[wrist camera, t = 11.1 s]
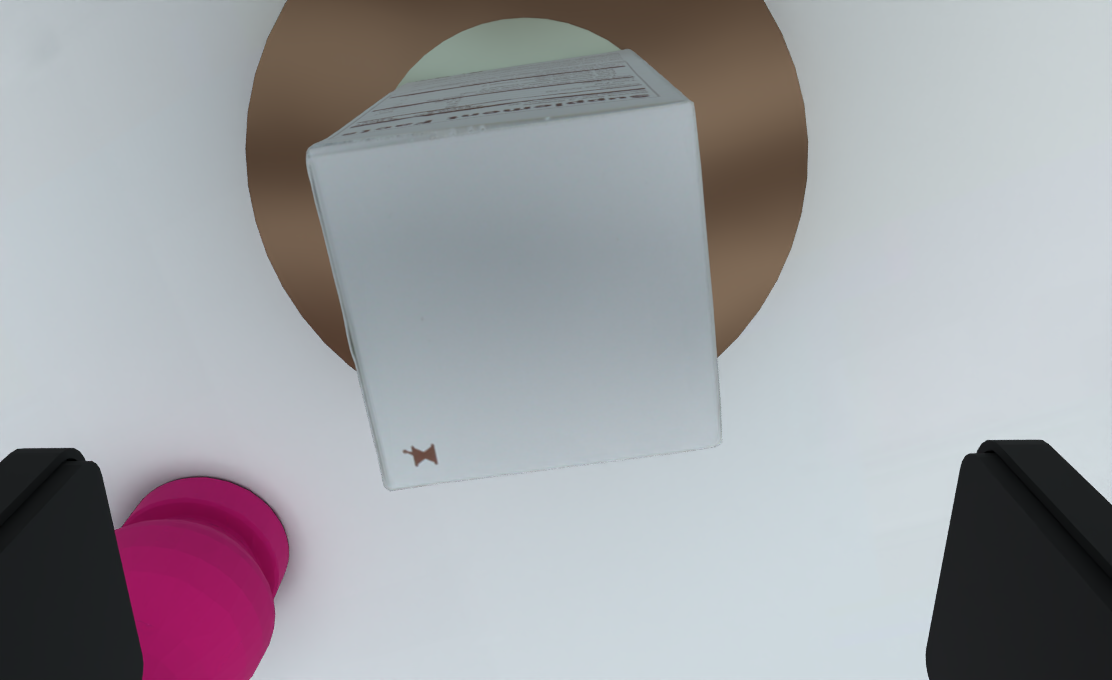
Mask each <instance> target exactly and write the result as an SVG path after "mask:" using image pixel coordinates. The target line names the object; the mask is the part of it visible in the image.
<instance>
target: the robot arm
mask: <svg viewBox="0 0 1112 680" xmlns="http://www.w3.org/2000/svg"><path fill="white" fill-rule="evenodd" d="M143 666H144V662H143V655H142V650H141V646H140V642H139V637H138V633H137V628H136V624H135V619H134V615H133V611H132V606H131V602H130V597H129V593H128V588H127V584H126V579H125V575H124V571H123V566H122V562H121V557H120V553H119V548H118V544H117V540H116V535H115V531H114V526H113V522H112V517H111V513H110V509H109V504H108V500H107V495H106V491H105V486H104V482H103V477H102V474H101V471H100V468H99V467H98V465H97V464H96V463H94V462H93V461H85V458H84V457H83V455H82V454H81V452H80V451H78V450H76V449H75V448H24V449H16V450H15V451H13V452H11V453H10V454H9V455H8V456H7V457H6V458H4V459H3V460H2V461H1V462H0V680H142V677H143ZM926 667H927V673H928V677H929V680H1112V505H1111V504H1110V503H1109V502H1108V501H1107V500H1106V499H1105V498H1104V497H1103V496H1102V495H1101V494H1100V493H1099V492H1098V491H1097V490H1096V489H1095V488H1094V487H1093V486H1092V485H1091V484H1090V483H1089V482H1088V481H1086V480H1085V479H1084V478H1083V477H1082V476H1081V475H1080V474H1079V473H1078V472H1077V471H1076V470H1075V469H1074V468H1073V467H1072V466H1071V465H1070V464H1069V463H1068V462H1067V461H1066V460H1065V459H1064V458H1063V457H1062V456H1061V455H1060V454H1058V453H1057V452H1056V451H1055V450H1054V449H1053V448H1052V447H1051V446H1050V445H1049V444H1048V443H1046V442H1045V441H1043V440H987V441H985V442H983V443H982V444H981V446H980V447H979V449H978V450H977V453H971V454H968V455H966V456H965V457H964V459H963V461H962V464H961V467H960V472H959V477H958V483H957V488H956V493H955V499H954V504H953V509H952V515H951V520H950V525H949V530H948V536H947V541H946V546H945V552H944V557H943V562H942V568H941V573H940V578H939V584H938V589H937V594H936V600H935V605H934V610H933V615H932V621H931V626H930V631H929V637H928V642H927V647H926Z"/></svg>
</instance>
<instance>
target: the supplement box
mask: <svg viewBox="0 0 1112 680" xmlns="http://www.w3.org/2000/svg"><path fill="white" fill-rule="evenodd" d="M306 166H307V172H308V176H309V179H310V183H311V187H312V192H313V196H314V201H315V205H316V209H317V212H318V216H319V220H320V224H321V227H322V231H323V236H324V240H325V244H326V248H327V252H328V256H329V260H330V264H331V268H332V273H333V277H334V281H335V285H336V288H337V292H338V296H339V301H340V305H341V309H342V313H343V319H344V324H345V329H346V335H347V339H348V343H349V348H350V352H351V354H352V357H353V360H354V363H355V366H356V370H357V374H358V378H359V383H360V387H361V391H362V395H363V399H364V403H365V407H366V411H367V415H368V419H369V423H370V428H371V432H372V436H373V440H374V444H375V448H376V452H377V456H378V461H379V466H380V470H381V475H382V480H383V484H384V487H385V488H386V489H387V490H389V491H395V490H401V489H408V488H414V487H421V486H427V485H434V484H441V483H449V482H457V481H465V480H473V479H480V478H488V477H495V476H503V475H511V474H519V473H527V472H536V471H543V470H550V469H557V468H565V467H573V466H581V465H589V464H597V463H604V462H611V461H619V460H626V459H634V458H641V457H651V456H657V455H666V454H674V453H681V452H688V451H695V450H700V449H706V448H711V447H716V446H719V445H720V443H721V442H722V424H721V403H720V389H719V374H718V361H717V348H716V335H715V322H714V309H713V297H712V286H711V275H710V264H709V253H708V242H707V231H706V219H705V207H704V195H703V183H702V171H701V161H700V152H699V142H698V133H697V124H696V115H695V108H694V102H692V101H690V100H689V99H688V98H687V97H686V96H684V95H683V94H682V92H680V91H679V90H678V89H677V88H675V87H674V86H673V85H672V84H671V83H670V82H669V81H668V80H666V79H665V78H664V77H663V76H662V75H661V74H659V73H658V72H657V71H656V70H655V69H654V68H653V67H651V66H650V65H649V64H648V63H647V62H646V61H644V60H643V59H642V58H641V57H640V56H639V55H637V54H636V53H635V52H634V51H632V50H631V49H624V50H619V51H613V52H607V53H601V54H594V55H587V56H580V57H574V58H567V59H560V60H553V61H546V62H539V63H532V64H526V65H519V66H512V67H506V68H499V69H493V70H486V71H479V72H472V73H466V74H459V75H453V76H447V77H440V78H434V79H427V80H422V81H416V82H410V83H406V84H404V85H402V86H400V87H399V88H397V89H396V90H394V91H393V92H391V93H389V94H387V95H386V96H385V97H383V98H382V99H380V100H379V101H378V102H376V103H375V104H374V105H372V106H371V107H370V108H368V109H367V110H365V111H364V112H363V113H361V114H360V115H359V116H357V117H356V118H355V119H353V120H352V121H350V122H349V123H348V124H346V125H345V126H344V127H342V128H341V129H340V130H338V131H337V132H335V133H334V134H332V135H331V136H329V137H328V138H326V139H324V140H322V141H320V142H317V143H315V144H313V145H312V146H310V147H309V148H308V150H307V152H306Z"/></svg>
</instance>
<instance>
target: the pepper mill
mask: <svg viewBox="0 0 1112 680" xmlns="http://www.w3.org/2000/svg"><path fill="white" fill-rule="evenodd" d="M114 531H115V535H116V540H117V544H118V548H119V553H120V557H121V562H122V566H123V571H124V575H125V579H126V584H127V588H128V593H129V597H130V602H131V606H132V611H133V615H134V619H135V624H136V628H137V633H138V637H139V642H140V646H141V650H142V655H143V662H144V666H143V677H142V680H249V679H250V678H251V677H252V676H253V674H254V672H255V670H256V668H257V667H258V665H259V663H260V661H261V659H262V657H263V655H264V653H265V652H266V650H267V648H268V646H269V644H270V640H271V637H272V634H273V629H274V622H275V608H274V600H273V599H274V597H275V595H276V592H277V590H278V588H279V585H280V583H281V581H282V578H283V576H284V574H285V571H286V568H287V564H288V560H289V546H288V541H287V536H286V534H285V531H284V529H283V526H282V524H281V522H280V521H279V519H278V518H277V517H276V515H275V514H274V512H273V511H272V510H271V508H270V507H269V506H268V505H267V504H266V503H265V502H264V501H262V500H261V499H260V498H259V497H257V496H256V495H255V494H253V493H252V492H251V491H249V490H246V489H244V488H242V487H240V486H237V485H235V484H233V483H231V482H228V481H223V480H218V479H213V478H208V477H195V478H185V479H180V480H175V481H172V482H169V483H166V484H164V485H162V486H160V487H158V488H156V489H155V490H153V491H152V492H150V493H149V494H148V495H147V496H146V497H145V498H144V499H143V500H142V501H141V502H140V503H139V505H138V506H137V507H136V509H135V510H134V511H133V512H132V514H131V515H130V516H129V518H128V519H127V520H126V522H125V523H124V524H123V526H122V527H121V528H119V529H116V530H114Z"/></svg>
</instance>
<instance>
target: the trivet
mask: <svg viewBox="0 0 1112 680" xmlns="http://www.w3.org/2000/svg"><path fill="white" fill-rule="evenodd" d="M624 49H631V50H632V51H634V52H635V53H636V54H637V55H639V56H640V57H641V58H642V59H643V60H644V61H646V62H647V63H648V64H649V65H650V66H651V67H653V68H654V69H655V70H656V71H657V72H658V73H659V74H661V75H662V76H663V77H664V78H665V79H666V80H668V81H669V82H670V83H671V84H672V85H673V86H674V87H675V88H677V89H678V90H679V91H680V92H682V94H683V95H684V96H686V97H687V98H688V99H689V100H690V101H692V102H694V108H695V115H696V124H697V133H698V142H699V152H700V161H701V171H702V183H703V195H704V207H705V219H706V231H707V242H708V253H709V264H710V275H711V286H712V297H713V309H714V322H715V335H716V348H717V358H718V357H719V356H720V355H721V354H722V353H723V352H724V351H725V350H726V349H727V348H728V347H729V346H730V345H731V344H732V343H733V342H734V341H735V340H736V339H737V338H738V337H739V335H740V334H741V333H742V332H743V330H744V329H745V328H746V326H747V325H748V324H749V323H750V321H751V320H752V319H753V317H754V316H755V315H756V314H757V312H758V311H759V310H760V308H761V306H762V305H763V303H764V301H765V300H766V298H767V296H768V295H769V293H770V291H771V290H772V288H773V286H774V285H775V283H776V281H777V280H778V277H779V275H780V273H781V270H782V268H783V266H784V264H785V261H786V259H787V257H788V254H789V252H790V250H791V247H792V244H793V241H794V237H795V234H796V230H797V227H798V224H799V220H800V217H801V213H802V207H803V200H804V194H805V188H806V182H807V160H808V137H807V127H806V118H805V108H804V102H803V98H802V94H801V90H800V86H799V81H798V77H797V73H796V69H795V66H794V64H793V61H792V58H791V56H790V53H789V51H788V48H787V46H786V43H785V41H784V38H783V35H782V33H781V31H780V29H779V27H778V25H777V24H776V22H775V20H774V18H773V17H772V15H771V13H770V11H769V9H768V8H767V6H766V4H765V2H764V0H287V2H286V3H285V5H284V7H283V9H282V11H281V13H280V15H279V17H278V19H277V21H276V23H275V25H274V27H273V29H272V30H271V32H270V34H269V36H268V38H267V41H266V44H265V47H264V50H263V53H262V56H261V59H260V62H259V65H258V67H257V70H256V73H255V77H254V82H253V88H252V93H251V98H250V103H249V108H248V116H247V133H246V162H247V176H248V187H249V192H250V197H251V202H252V207H253V211H254V216H255V221H256V224H257V227H258V230H259V233H260V236H261V239H262V242H263V244H264V247H265V250H266V253H267V256H268V258H269V260H270V262H271V264H272V266H273V268H274V270H275V272H276V274H277V276H278V278H279V280H280V282H281V284H282V286H283V288H284V290H285V291H286V293H287V294H288V296H289V297H290V299H291V300H292V302H293V303H294V305H295V306H296V308H297V309H298V311H299V312H300V314H301V315H302V317H303V318H304V319H305V320H306V321H307V323H308V324H309V325H310V326H311V327H312V329H313V330H314V331H315V332H316V333H317V334H318V336H319V337H320V338H321V339H322V340H323V342H324V343H325V344H326V345H328V346H329V347H330V348H331V349H332V350H333V351H334V352H335V353H336V354H337V355H338V356H339V357H340V358H342V359H343V360H344V361H345V362H346V363H347V364H348V365H349V366H350V367H352V368H353V369H355V370H356V366H355V363H354V360H353V357H352V354H351V352H350V348H349V343H348V339H347V335H346V329H345V324H344V319H343V313H342V309H341V305H340V301H339V296H338V292H337V288H336V285H335V281H334V277H333V273H332V268H331V264H330V260H329V256H328V252H327V248H326V244H325V240H324V236H323V231H322V227H321V224H320V220H319V216H318V212H317V209H316V205H315V201H314V196H313V192H312V187H311V183H310V179H309V176H308V172H307V166H306V152H307V150H308V148H309V147H310V146H312V145H313V144H315V143H317V142H320V141H322V140H324V139H326V138H328V137H329V136H331V135H332V134H334V133H335V132H337V131H338V130H340V129H341V128H342V127H344V126H345V125H346V124H348V123H349V122H350V121H352V120H353V119H355V118H356V117H357V116H359V115H360V114H361V113H363V112H364V111H365V110H367V109H368V108H370V107H371V106H372V105H374V104H375V103H376V102H378V101H379V100H380V99H382V98H383V97H385V96H386V95H387V94H389V93H391V92H393V91H394V90H396V89H397V88H399V87H400V86H402V85H404V84H406V83H410V82H416V81H422V80H427V79H434V78H440V77H447V76H453V75H459V74H466V73H472V72H479V71H486V70H493V69H499V68H506V67H512V66H519V65H526V64H532V63H539V62H546V61H553V60H560V59H567V58H574V57H580V56H587V55H594V54H601V53H607V52H613V51H619V50H624ZM356 371H357V370H356Z"/></svg>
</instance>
